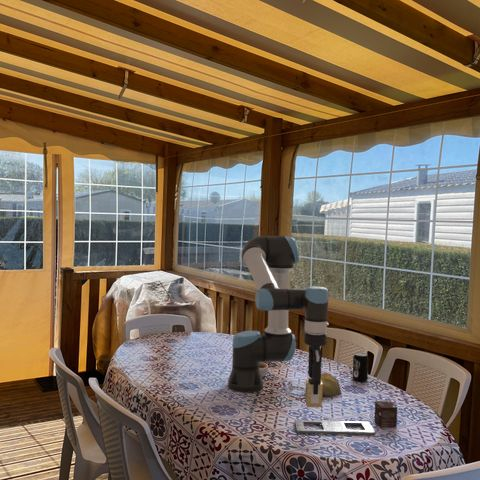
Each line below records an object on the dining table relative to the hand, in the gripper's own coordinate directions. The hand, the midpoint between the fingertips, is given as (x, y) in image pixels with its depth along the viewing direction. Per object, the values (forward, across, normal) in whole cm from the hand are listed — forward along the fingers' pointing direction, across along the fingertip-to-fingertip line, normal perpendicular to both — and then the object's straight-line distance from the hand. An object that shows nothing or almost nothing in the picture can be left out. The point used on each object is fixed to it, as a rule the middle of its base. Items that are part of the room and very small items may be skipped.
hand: (313, 399), depth 171 cm
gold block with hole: (+2, 0, 0) cm, 2 cm away
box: (+10, +4, -26) cm, 28 cm away
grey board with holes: (+10, -1, -7) cm, 12 cm away
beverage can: (+11, +55, -29) cm, 63 cm away
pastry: (+11, +37, -10) cm, 40 cm away
